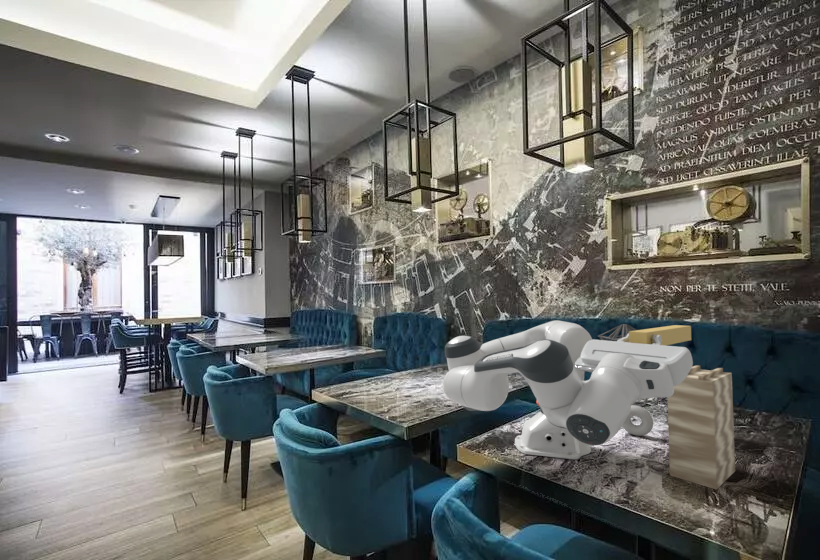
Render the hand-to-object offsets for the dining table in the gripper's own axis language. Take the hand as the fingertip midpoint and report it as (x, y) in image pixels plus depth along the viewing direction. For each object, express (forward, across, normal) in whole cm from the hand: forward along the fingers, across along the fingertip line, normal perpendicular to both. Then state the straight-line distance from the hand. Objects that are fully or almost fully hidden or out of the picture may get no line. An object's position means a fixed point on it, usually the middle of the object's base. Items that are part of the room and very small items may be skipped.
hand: (645, 336), depth 88 cm
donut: (+24, -23, -58) cm, 67 cm away
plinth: (+10, 0, -50) cm, 51 cm away
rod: (+7, 0, -7) cm, 10 cm away
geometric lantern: (+48, -39, -72) cm, 95 cm away
